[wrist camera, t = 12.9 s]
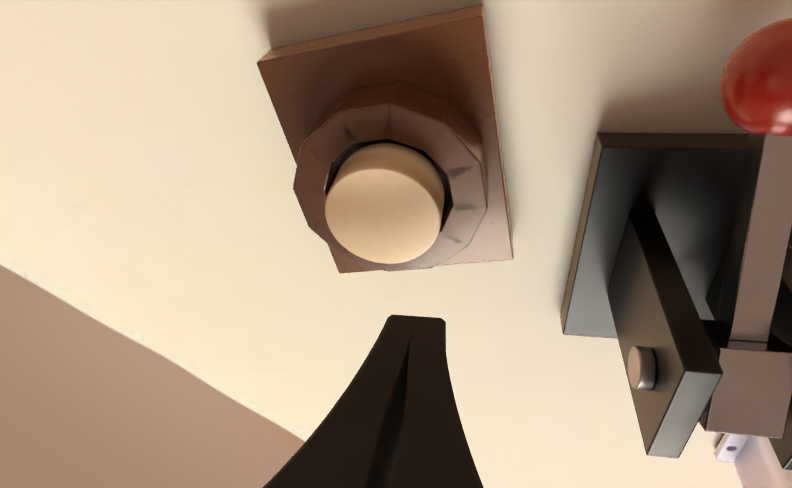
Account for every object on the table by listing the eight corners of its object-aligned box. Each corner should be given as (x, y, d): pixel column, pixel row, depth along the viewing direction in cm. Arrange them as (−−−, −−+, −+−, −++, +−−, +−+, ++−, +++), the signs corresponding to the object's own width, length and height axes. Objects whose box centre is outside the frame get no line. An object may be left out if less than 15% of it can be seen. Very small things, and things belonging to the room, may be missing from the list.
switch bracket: (597, 132, 19) (652, 291, 12) (834, 134, 18) (1041, 314, 11) (560, 316, 25) (583, 492, 19) (735, 328, 24) (829, 521, 17)
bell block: (512, 238, 23) (514, 292, 20) (346, 253, 25) (328, 304, 22) (483, 3, 17) (481, 34, 14) (270, 49, 19) (233, 83, 16)
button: (453, 230, 19) (449, 259, 18) (353, 240, 20) (343, 268, 19) (433, 134, 17) (427, 160, 16) (322, 151, 18) (308, 176, 17)
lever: (709, 28, 15) (766, 6, 12) (827, 26, 15) (917, 3, 12) (657, 385, 18) (692, 438, 15) (754, 393, 18) (810, 450, 15)
